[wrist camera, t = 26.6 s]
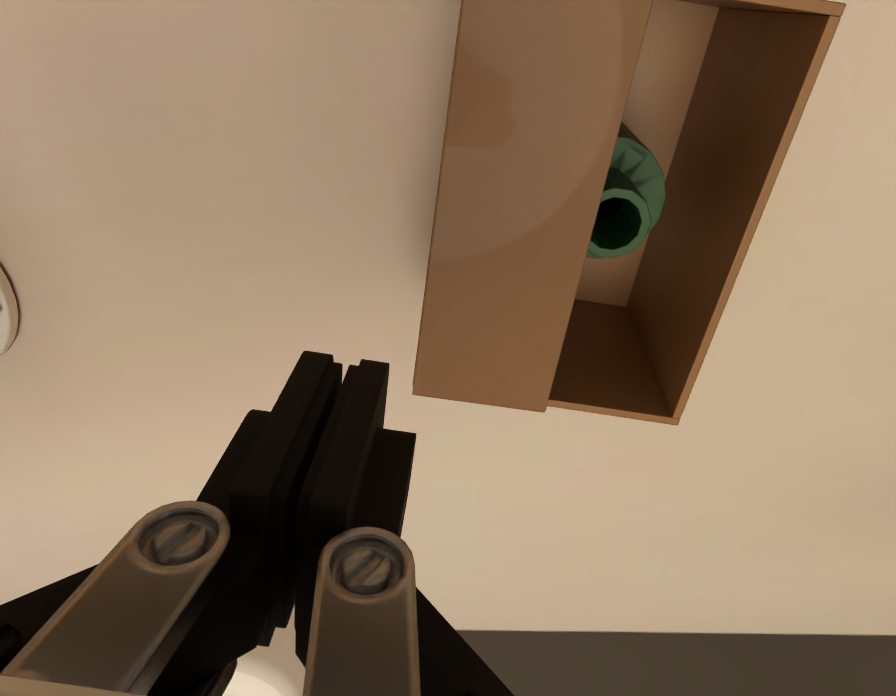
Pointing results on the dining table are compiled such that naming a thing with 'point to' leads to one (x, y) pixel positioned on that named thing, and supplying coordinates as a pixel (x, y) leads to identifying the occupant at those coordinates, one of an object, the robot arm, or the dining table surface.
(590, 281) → the shoebox
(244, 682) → the potion bottle
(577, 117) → the flap
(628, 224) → the bottle
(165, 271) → the dining table surface
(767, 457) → the dining table surface
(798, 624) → the dining table surface
